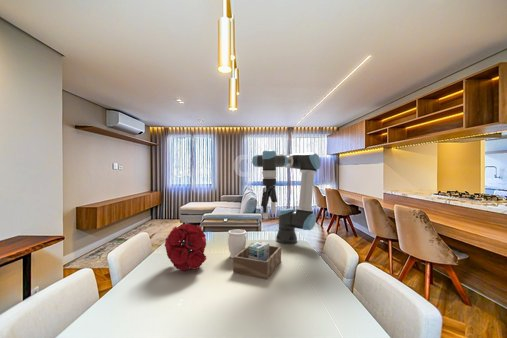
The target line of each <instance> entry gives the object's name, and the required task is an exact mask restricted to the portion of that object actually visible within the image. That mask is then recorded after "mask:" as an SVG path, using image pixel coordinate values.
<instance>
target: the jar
mask: <svg viewBox="0 0 507 338" xmlns="http://www.w3.org/2000/svg"><path fill="white" fill-rule="evenodd" d="M246 234H247V231H246V230H245V229H230V230H228V238H227V244H228V250H229V251H228V252H229V253H230V254H229V258H230V259H233V257H234V256H235V255H236V254H238V253H239V252H240V251H242V250H243V249H245V248H246V247H247V246H246V244H247V236H246Z"/></svg>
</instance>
